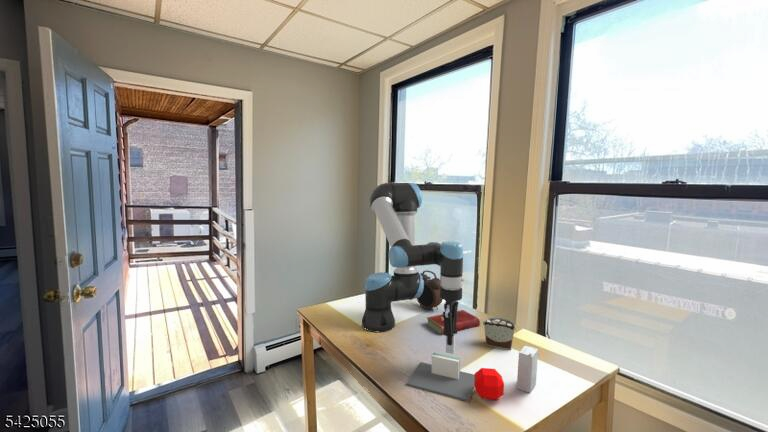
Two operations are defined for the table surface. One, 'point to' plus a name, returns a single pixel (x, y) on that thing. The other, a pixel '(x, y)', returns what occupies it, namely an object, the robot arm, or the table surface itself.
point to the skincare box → (527, 368)
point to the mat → (442, 382)
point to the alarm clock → (430, 292)
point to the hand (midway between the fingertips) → (450, 352)
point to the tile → (446, 366)
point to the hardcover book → (463, 321)
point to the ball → (489, 384)
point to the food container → (499, 332)
